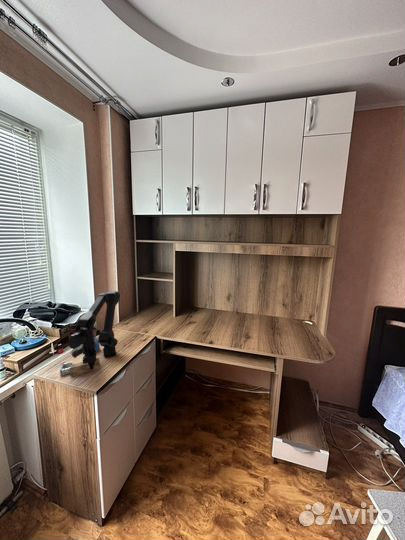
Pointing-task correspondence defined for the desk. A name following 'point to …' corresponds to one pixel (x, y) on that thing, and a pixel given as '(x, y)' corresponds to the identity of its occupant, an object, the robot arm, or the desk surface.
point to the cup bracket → (65, 371)
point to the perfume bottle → (97, 344)
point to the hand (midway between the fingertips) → (91, 367)
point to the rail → (83, 367)
